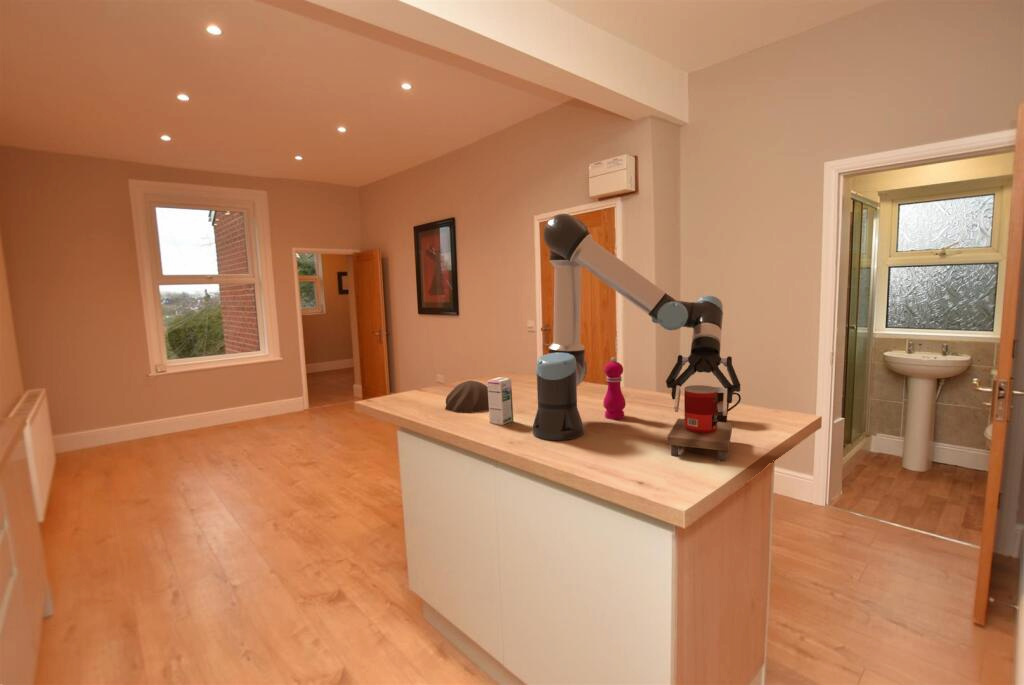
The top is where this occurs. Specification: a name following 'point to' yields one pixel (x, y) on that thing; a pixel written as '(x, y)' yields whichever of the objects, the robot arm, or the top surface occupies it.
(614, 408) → the pepper mill
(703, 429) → the canned food
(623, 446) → the top surface
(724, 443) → the walnut shelf
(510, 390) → the syrup box
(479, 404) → the decorative dome
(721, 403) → the coffee mug
